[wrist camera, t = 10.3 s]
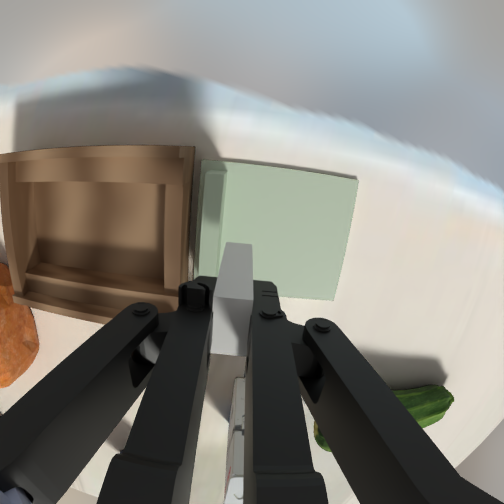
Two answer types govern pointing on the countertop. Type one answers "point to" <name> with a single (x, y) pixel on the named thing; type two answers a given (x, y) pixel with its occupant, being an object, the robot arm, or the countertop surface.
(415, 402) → the vegetable
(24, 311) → the bread
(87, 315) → the pencil box
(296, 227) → the lid
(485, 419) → the countertop surface
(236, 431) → the ink box
